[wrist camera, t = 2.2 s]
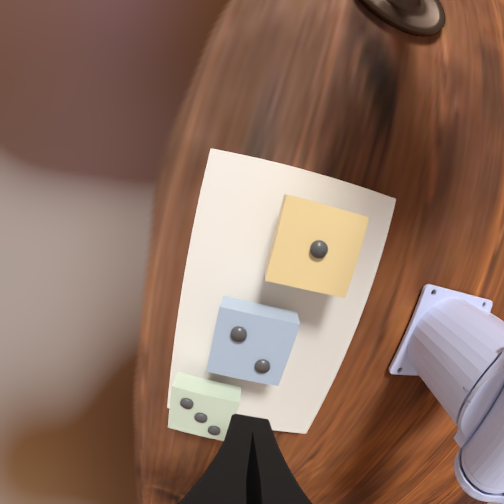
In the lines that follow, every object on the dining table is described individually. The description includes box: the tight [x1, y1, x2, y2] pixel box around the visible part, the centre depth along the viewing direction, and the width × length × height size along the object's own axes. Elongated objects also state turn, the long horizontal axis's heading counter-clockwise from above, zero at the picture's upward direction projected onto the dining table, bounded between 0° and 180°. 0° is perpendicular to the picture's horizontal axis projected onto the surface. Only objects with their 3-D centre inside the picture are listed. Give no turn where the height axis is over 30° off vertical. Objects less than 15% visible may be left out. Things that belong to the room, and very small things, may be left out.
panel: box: [167, 149, 396, 434], centre depth 18 cm, size 12×20×2 cm, turn 167°
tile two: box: [206, 295, 300, 386], centre depth 16 cm, size 4×4×2 cm
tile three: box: [168, 372, 241, 441], centre depth 17 cm, size 4×4×2 cm
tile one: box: [265, 194, 369, 298], centre depth 15 cm, size 4×4×2 cm
